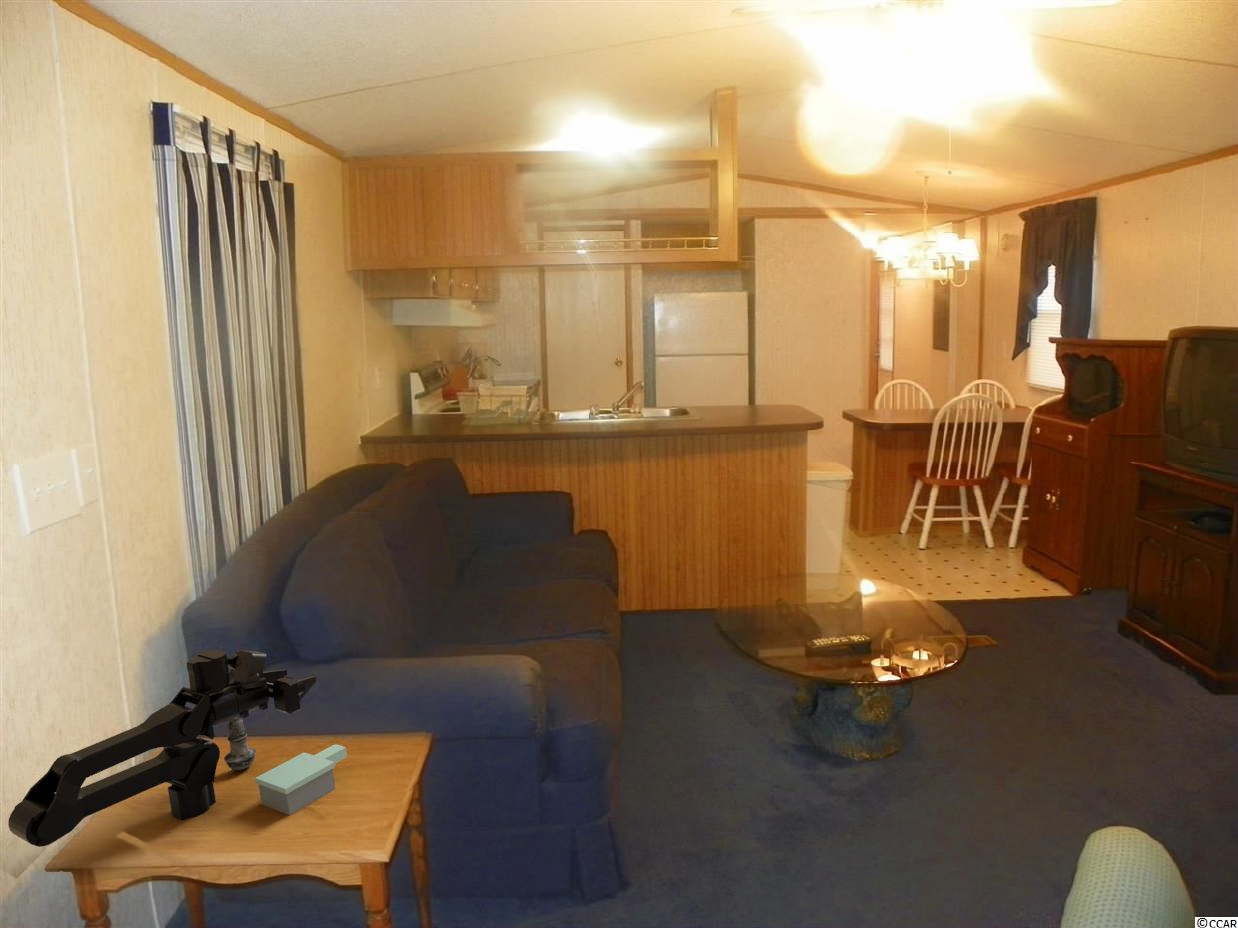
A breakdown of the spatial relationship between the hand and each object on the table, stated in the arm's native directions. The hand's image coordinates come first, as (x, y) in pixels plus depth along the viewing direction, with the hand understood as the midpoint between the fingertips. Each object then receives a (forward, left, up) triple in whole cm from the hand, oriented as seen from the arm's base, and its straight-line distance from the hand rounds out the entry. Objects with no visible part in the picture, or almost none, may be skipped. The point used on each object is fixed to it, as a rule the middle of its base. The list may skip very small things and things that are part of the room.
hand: (300, 675), depth 182 cm
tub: (-13, -14, -17) cm, 25 cm away
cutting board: (-11, -14, -13) cm, 21 cm away
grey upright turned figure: (-11, +6, -17) cm, 21 cm away
